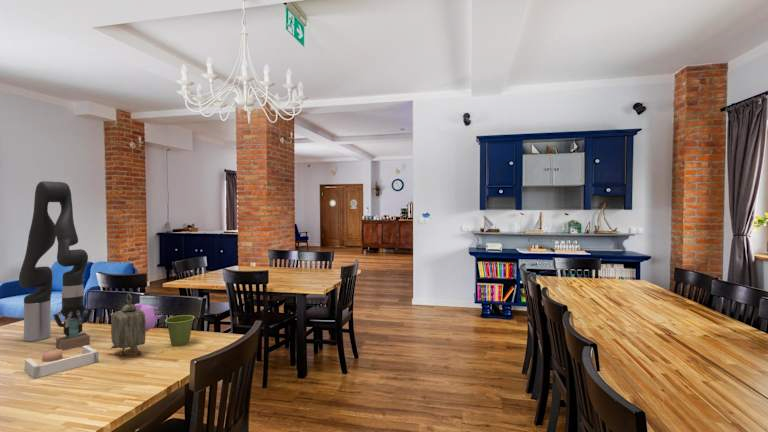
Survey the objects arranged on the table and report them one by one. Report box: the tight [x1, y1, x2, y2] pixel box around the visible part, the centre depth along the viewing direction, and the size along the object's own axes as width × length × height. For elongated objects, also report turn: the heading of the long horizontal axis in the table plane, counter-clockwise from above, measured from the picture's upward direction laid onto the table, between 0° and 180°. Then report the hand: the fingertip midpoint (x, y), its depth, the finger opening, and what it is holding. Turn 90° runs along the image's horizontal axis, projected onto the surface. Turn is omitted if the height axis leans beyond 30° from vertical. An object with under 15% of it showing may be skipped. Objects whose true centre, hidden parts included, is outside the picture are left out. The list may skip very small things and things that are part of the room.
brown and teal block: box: [55, 318, 91, 352], centre depth 168 cm, size 7×10×11 cm
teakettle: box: [110, 303, 162, 330], centre depth 195 cm, size 17×17×12 cm
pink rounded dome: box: [41, 348, 63, 363], centre depth 153 cm, size 6×6×3 cm
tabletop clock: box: [110, 292, 147, 356], centre depth 159 cm, size 14×9×25 cm, turn 47°
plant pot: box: [164, 314, 196, 347], centre depth 172 cm, size 12×12×11 cm
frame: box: [24, 345, 100, 379], centre depth 146 cm, size 12×19×4 cm, turn 145°
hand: (73, 334), depth 168 cm, fingers closed on brown and teal block, 3 cm apart
